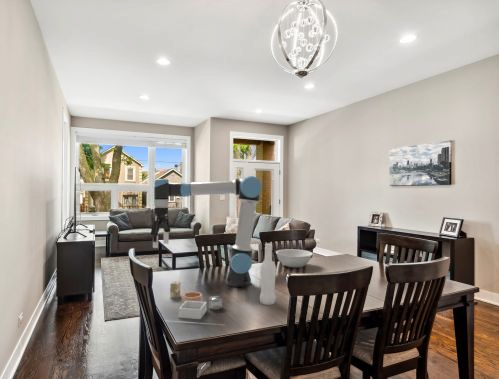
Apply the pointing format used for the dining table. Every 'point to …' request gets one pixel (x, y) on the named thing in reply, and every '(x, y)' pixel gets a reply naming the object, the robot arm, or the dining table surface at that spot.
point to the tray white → (192, 309)
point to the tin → (215, 302)
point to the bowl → (294, 257)
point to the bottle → (268, 277)
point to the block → (175, 289)
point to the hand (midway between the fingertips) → (160, 245)
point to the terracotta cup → (192, 296)
